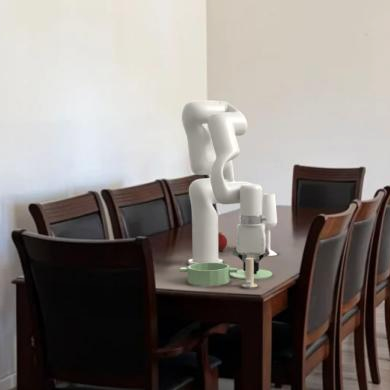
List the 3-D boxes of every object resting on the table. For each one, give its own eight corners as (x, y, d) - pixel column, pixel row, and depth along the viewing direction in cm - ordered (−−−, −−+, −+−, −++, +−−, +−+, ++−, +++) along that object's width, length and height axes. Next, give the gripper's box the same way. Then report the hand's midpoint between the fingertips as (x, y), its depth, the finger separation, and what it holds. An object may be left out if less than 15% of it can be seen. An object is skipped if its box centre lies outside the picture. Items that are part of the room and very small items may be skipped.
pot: (184, 278, 265) (183, 262, 265) (239, 278, 265) (239, 262, 265) (176, 287, 252) (176, 270, 251) (234, 287, 252) (234, 270, 252)
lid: (232, 272, 276) (232, 254, 275) (273, 272, 276) (273, 255, 275) (227, 281, 262) (227, 262, 261) (270, 281, 262) (270, 263, 261)
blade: (243, 284, 257) (243, 255, 256) (258, 284, 257) (258, 256, 256) (240, 290, 249) (240, 260, 248) (256, 290, 249) (256, 261, 248)
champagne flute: (258, 253, 312) (258, 193, 310) (274, 252, 315) (274, 192, 312) (262, 256, 306) (262, 195, 304) (279, 255, 309) (279, 194, 306)
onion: (226, 252, 313) (226, 232, 312) (212, 252, 312) (212, 232, 311) (227, 250, 318) (227, 230, 318) (213, 250, 318) (213, 230, 317)
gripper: (275, 218, 270) (275, 271, 272) (228, 218, 270) (228, 270, 272) (274, 221, 263) (273, 275, 265) (226, 221, 263) (226, 275, 265)
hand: (251, 272), depth 269 cm, fingers closed on lid, 2 cm apart
